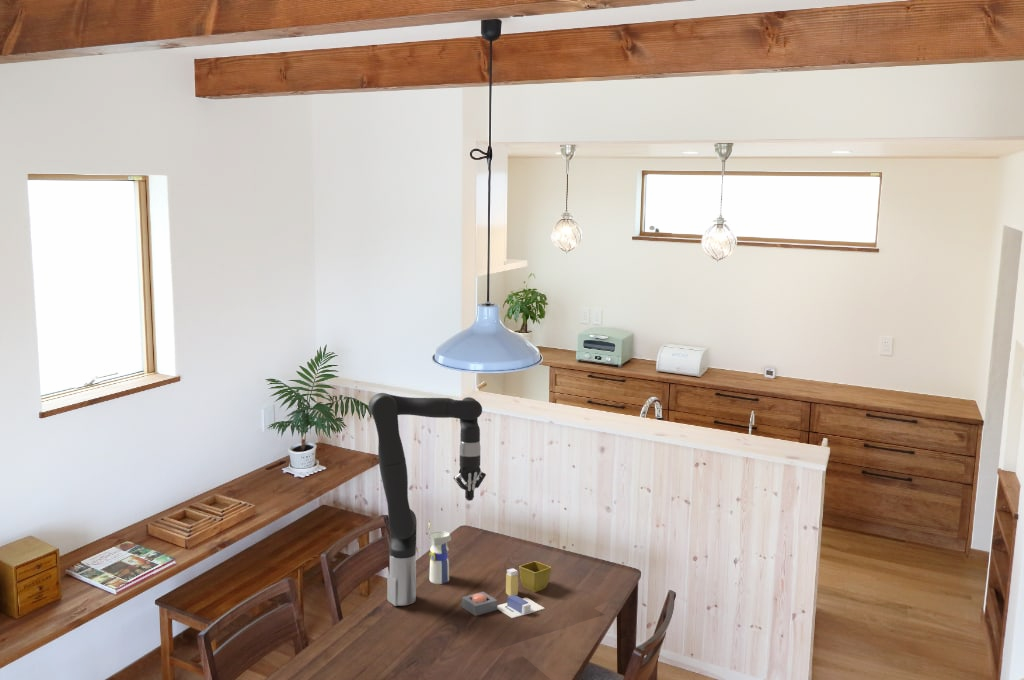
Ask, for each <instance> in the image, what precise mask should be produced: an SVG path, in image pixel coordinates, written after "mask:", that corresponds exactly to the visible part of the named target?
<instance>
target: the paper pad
mask: <svg viewBox="0 0 1024 680" xmlns="http://www.w3.org/2000/svg"><path fill="white" fill-rule="evenodd" d="M522 599H523V600H525V601H527V602H528V603H529V604H531V609H530V613H526V614H523V613H519V612H518V611H516V610H514V609H513V608H511V607H509V606H508V605H507V602H505V603H502V604H501V603H500V604H497V610H498V611H500V612H501V613H502V614H505V615H506V616H508V617H509V618H511V619H515V618H518V617H522V616H525V615H529V614H532V613H536V612H540V611H544V610H545V609H546V608H545V607H544V606H542V605H541V604H539V603H538V602H537V603H536V602H535V601H533V600H532V599H530V598H528V597H523V598H522Z"/></svg>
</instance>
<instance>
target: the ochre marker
mask: <svg viewBox="0 0 1024 680" xmlns="http://www.w3.org/2000/svg"><path fill="white" fill-rule="evenodd" d="M505 594H507V596H511V595H514V594H515V595H516V596H518V595H519V573H518V570H517V569H515V568H513V567H512V568H509V569H506V573H505Z"/></svg>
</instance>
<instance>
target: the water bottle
mask: <svg viewBox="0 0 1024 680" xmlns="http://www.w3.org/2000/svg"><path fill="white" fill-rule="evenodd" d="M430 522H431V521H430V519H429V520H428V521H427V528H428V530H430V527H431V523H430ZM428 538H429V543H430V542H431V547H430V549H429V551H430V552H429V553H428V558H429V559H430V560H429V578H428V579H429V581H430V583H432V584H434V585H435V584H437V585H440V584H441V585H442V584H446V583H448V582H449V581H450V561H449V560H450V559H449V557H448V556H449V555H448V552H449V550H450V548H449V547H448V543H449V542H450V541H452V536H451V534H450V532H448V531H444V530H438V531H433V532H430V534H429V535H428Z"/></svg>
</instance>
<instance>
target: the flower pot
mask: <svg viewBox="0 0 1024 680" xmlns="http://www.w3.org/2000/svg"><path fill="white" fill-rule="evenodd" d="M518 567H519V568H518V569H519V578H520V582H521V585H522V587H523V588H524V589H526V590H528V591H530V592H533V593H537V592H539V591H542V590H544V589H546V588H547V586H548V584H549V581H550V578H551V577H550V576H551V571H552V566H549V565H547V564H544V563H542V562H539V561H535V560H534V561H530V562H528V563H525V564H521V565H519V566H518Z"/></svg>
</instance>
